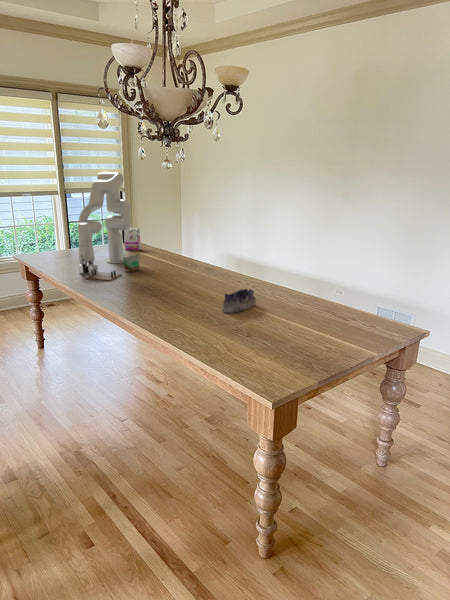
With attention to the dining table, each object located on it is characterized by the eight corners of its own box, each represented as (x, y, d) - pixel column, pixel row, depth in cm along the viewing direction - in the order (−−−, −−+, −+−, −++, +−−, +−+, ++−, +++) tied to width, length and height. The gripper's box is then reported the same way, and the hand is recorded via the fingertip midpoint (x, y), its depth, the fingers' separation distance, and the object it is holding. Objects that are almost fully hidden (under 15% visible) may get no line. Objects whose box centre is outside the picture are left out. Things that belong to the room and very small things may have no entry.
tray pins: (95, 273, 266) (94, 268, 264) (116, 275, 262) (115, 270, 261) (91, 275, 261) (90, 270, 260) (112, 277, 258) (112, 272, 257)
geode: (237, 317, 202) (234, 296, 199) (217, 314, 209) (215, 294, 206) (260, 304, 217) (258, 285, 214) (241, 302, 224) (239, 283, 221)
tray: (98, 273, 270) (98, 271, 270) (121, 275, 266) (121, 274, 266) (85, 279, 258) (85, 277, 257) (109, 281, 254) (109, 279, 253)
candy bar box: (140, 249, 342) (140, 228, 337) (138, 250, 338) (137, 229, 332) (127, 248, 344) (126, 227, 339) (125, 249, 339) (123, 228, 334)
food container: (130, 273, 271) (129, 258, 268) (123, 272, 275) (122, 256, 272) (144, 270, 281) (144, 254, 277) (138, 268, 284) (137, 253, 281)
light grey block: (83, 271, 276) (83, 263, 274) (97, 272, 273) (97, 264, 272) (79, 273, 271) (78, 265, 270) (93, 274, 269) (92, 266, 267)
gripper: (88, 240, 275) (90, 268, 281) (72, 245, 260) (75, 274, 265) (98, 241, 273) (101, 269, 279) (83, 246, 258) (85, 275, 263)
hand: (88, 271), depth 272 cm, fingers closed on light grey block, 5 cm apart
